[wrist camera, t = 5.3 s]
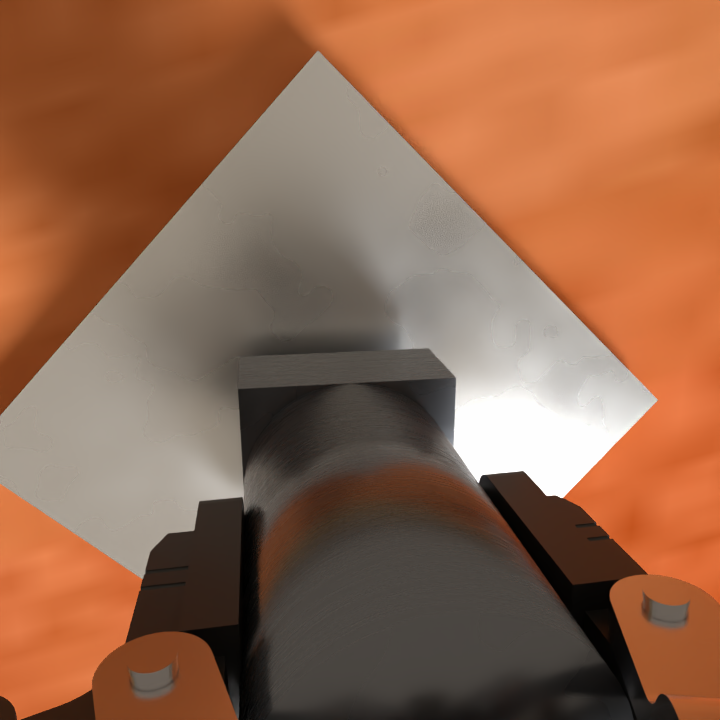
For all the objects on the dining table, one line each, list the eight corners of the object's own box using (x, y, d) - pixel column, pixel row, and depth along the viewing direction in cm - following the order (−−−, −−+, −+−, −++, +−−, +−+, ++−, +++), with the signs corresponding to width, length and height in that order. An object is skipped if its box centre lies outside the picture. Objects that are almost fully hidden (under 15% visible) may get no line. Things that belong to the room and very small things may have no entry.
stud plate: (636, 389, 19) (709, 427, 16) (342, 690, 20) (358, 780, 17) (313, 58, 15) (328, 29, 13) (-21, 442, 16) (-80, 499, 14)
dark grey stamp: (428, 348, 15) (657, 592, 7) (424, 514, 17) (615, 905, 8) (240, 356, 15) (223, 637, 6) (249, 529, 16) (247, 969, 7)
